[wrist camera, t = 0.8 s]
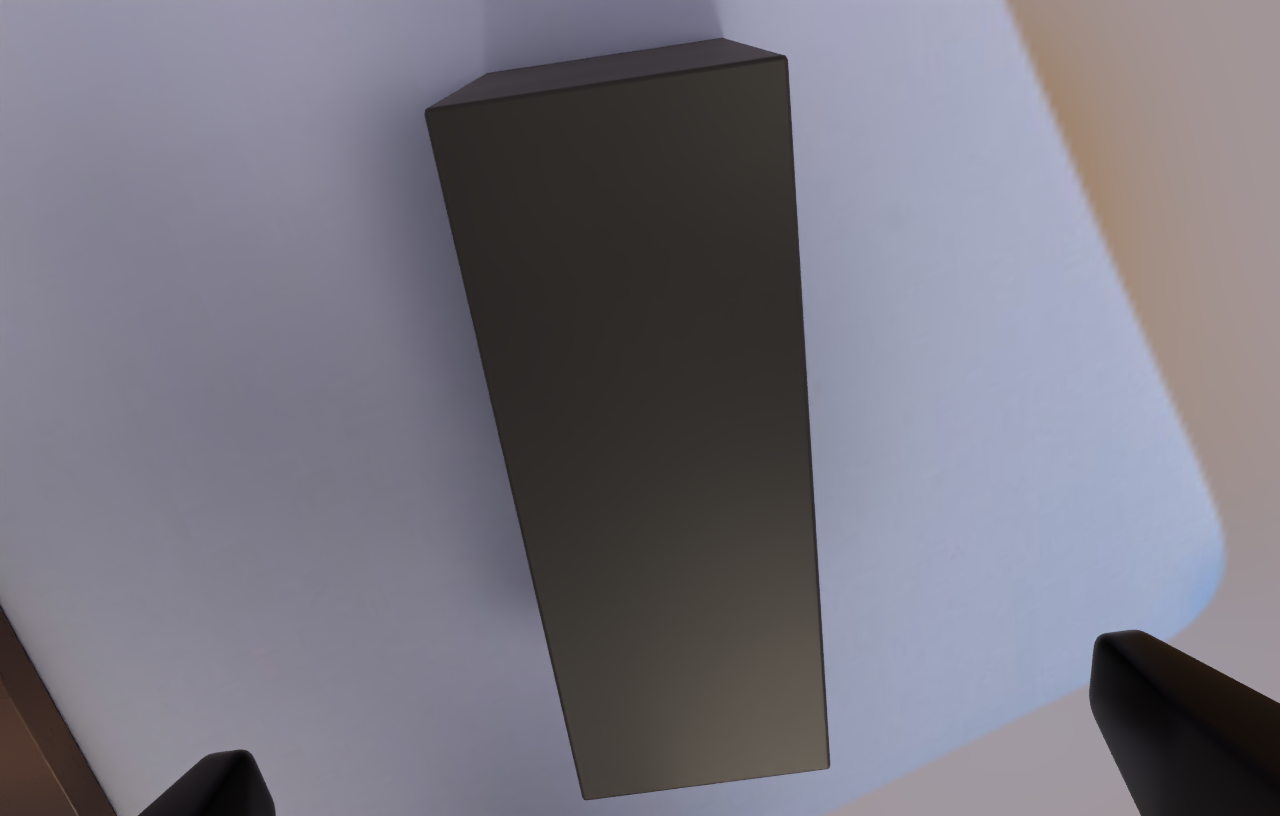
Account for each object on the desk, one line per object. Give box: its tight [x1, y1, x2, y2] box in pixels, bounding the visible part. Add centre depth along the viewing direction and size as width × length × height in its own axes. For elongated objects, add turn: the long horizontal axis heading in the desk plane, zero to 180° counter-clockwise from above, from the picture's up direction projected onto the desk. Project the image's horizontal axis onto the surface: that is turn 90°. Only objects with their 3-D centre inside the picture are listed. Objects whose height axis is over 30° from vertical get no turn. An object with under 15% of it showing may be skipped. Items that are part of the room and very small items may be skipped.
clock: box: [424, 38, 830, 800], centre depth 16 cm, size 12×5×6 cm, turn 8°
